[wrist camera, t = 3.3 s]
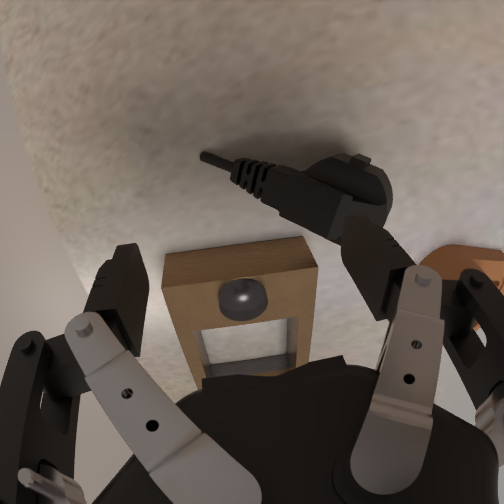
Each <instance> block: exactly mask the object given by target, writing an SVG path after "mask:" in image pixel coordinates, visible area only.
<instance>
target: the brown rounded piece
mask: <svg viewBox="0 0 504 504" xmlns="http://www.w3.org/2000/svg"><path fill="white" fill-rule="evenodd" d="M419 265H423V266H427V267H429V268H432V269H433V270H435V271H436V272H437V273H438V274H439V275H440V277H441V279H445V280H458V279H459V277H460V274H461V272H462V271H463V270H464V269H468V268H472V269H477V270H479V271H481V272H483V273H485V274H486V275H487V276H488V277H489V278H490V279H491V280H492V282H493V283H494V284H495V285H496V287H497V288H498V289H499V290H500V292H501V293H502V294H503V295H504V253H503V252H502V251H500V250H494V249H486V248H478V247H470V246H462V245H453V244H452V245H445V246H443V247H440V248H438V249H436V250H435V251H433V252H432V253H430V254H429V255H428V256H427V257H426V258H425V259H424V260H423V261H422V262H421V263H420V264H419ZM479 328H480V325H479V324H478V322H477V321H476V323H475V325H474V327H473V329H474V330H475V331H476V330H478V329H479ZM442 346H444V345H442Z"/></svg>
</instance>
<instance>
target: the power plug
mask: <svg viewBox="0 0 504 504" xmlns="http://www.w3.org/2000/svg"><path fill="white" fill-rule="evenodd" d="M200 160H201V161H203V162H206V163H208V164H211V165H213V166H216V167H218V168H221V169H223V170H226V171H228V172H231V176H230V180H231V181H232V182H233V183H235V184H236V185H239V186H240V187H241V188H242V189H246V188H247V189H246V191H247V192H248V193H249V194H252V193H254V194H253V196H254V197H255V198H257V199H259V198H261V202H262V203H264V204H266V205H268V206H271V207H273V208H275V209H277V210H278V211H279V216H281V217H283V218H285V219H287V220H289V221H291V222H294V223H296V224H298V225H300V226H302V227H304V228H306V229H308V230H309V231H311V232H313V233H316V234H318V235H320V236H322V237H324V238H325V239H327V240H329V241H331V242H333V243H336V244H338V245H340V246H341V243H342V234H343V224H344V218H345V217H346V216H349V215H358V214H365V215H366V216H367V217H368V218H369V220H370V221H371V222H372V223H373V224H374V225H378V226H380V227H382V228H383V226H384V224H385V222H386V219H387V216H388V214H389V212H390V210H391V208H392V202H393V193H392V187H391V184H390V181H389V179H388V177H387V175H386V173H385V172H384V171H383V170H382V169H380V168H378V167H376V166H373V165H371V164H370V162H371V158H368V157H366V156H364V155H361V154H357V155H354V156H350V155H347V154H345V153H342V154H338V155H335V156H332V157H329V158H326V159H323V160H321V161H319V162H317V163H315V164H314V165H312V166H311V167H310V168H308V169H307V170H305V171H298V170H295V169H293V168H290V167H287V166H282V165H278V166H276V164H273V163H270V164H268V163H267V162H259V161H257V160H251V159H247V158H241V159H237V160H235V161H234V162H232V161H229V160H227V159H224V158H221V157H219V156H216V155H213V154H211V153H208V152H205V151H204V152H202V154H201V155H200Z"/></svg>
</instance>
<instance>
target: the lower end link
mask: <svg viewBox="0 0 504 504" xmlns="http://www.w3.org/2000/svg"><path fill="white" fill-rule="evenodd" d="M292 327H293V317H290V318H288V323H287V354H284V355H278V356H272V357H265V358H259V359H252V360H245V361H238V362H230V363H222V364H214V365H210V362H209V359H208V355H207V352H206V349H205V345H204V342H203V338H202V334H201V331H200V330H197V335H198V338H199V342H200V345H201V348H202V352H203V355H204V358H205V361H206V365H207V368H208V371H209V374H210V377H219V376H227V375H235V374H240V375H253V374H259V373H266V372H272V371H278V370H284V369H290V368H291V349H292Z"/></svg>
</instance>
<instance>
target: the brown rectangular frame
mask: <svg viewBox="0 0 504 504" xmlns="http://www.w3.org/2000/svg"><path fill="white" fill-rule="evenodd" d="M317 276H318V265H317V263H316V261H315V259H314V257H313V255H312V253H311V251H310V249H309V247H308V245H307V243H306V241H305V239H304V237H303V236H301V237H293V238H286V239H278V240H270V241H262V242H254V243H247V244H239V245H232V246H224V247H216V248H209V249H201V250H194V251H187V252H179V253H172V254H166V255H165V263H164V270H163V277H162V285H161V289H162V292H163V295H164V298H165V301H166V304H167V307H168V310H169V313H170V316H171V319H172V322H173V325H174V328H175V331H176V333H177V336H178V339H179V342H180V344H181V347H182V350H183V352H184V355H185V358H186V360H187V363H188V365H189V368H190V371H191V373H192V376H193V378H194V381H195V383H196V386H197V388H198V390H200V389H202V378H211V377H210V374H209V371H208V368H207V365H206V361H205V358H204V355H203V352H202V348H201V345H200V342H199V338H198V335H197V330H205V329H214V328H222V327H229V326H237V325H244V324H251V323H258V322H265V321H271V320H278V319H284V318H290V317H293V327H292V349H291V368H290V369H284V370H278V371H272V372H266V373H259V374H253V375H255V376H278V375H281V374H283V373H285V372H288V371H290V370H293V369H295V368H297V367H299V366H302V365H304V364H306V363H308V361H309V353H310V345H311V336H312V328H313V318H314V309H315V298H316V288H317Z"/></svg>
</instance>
